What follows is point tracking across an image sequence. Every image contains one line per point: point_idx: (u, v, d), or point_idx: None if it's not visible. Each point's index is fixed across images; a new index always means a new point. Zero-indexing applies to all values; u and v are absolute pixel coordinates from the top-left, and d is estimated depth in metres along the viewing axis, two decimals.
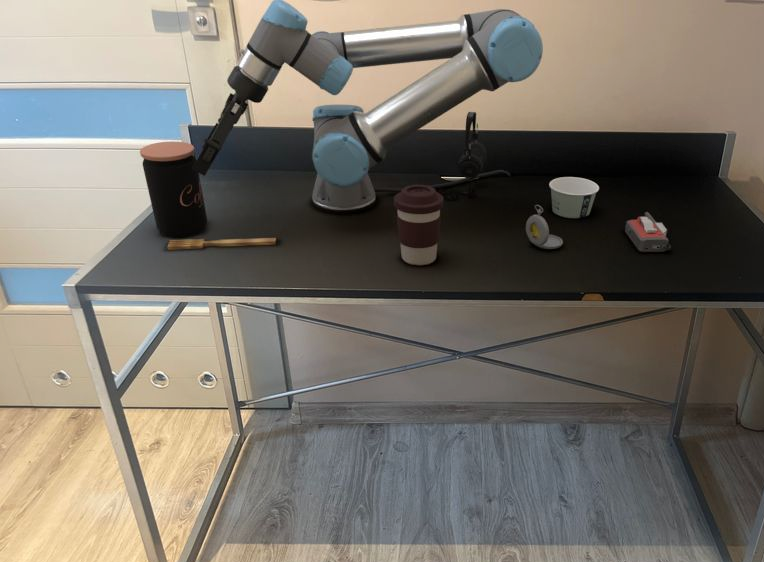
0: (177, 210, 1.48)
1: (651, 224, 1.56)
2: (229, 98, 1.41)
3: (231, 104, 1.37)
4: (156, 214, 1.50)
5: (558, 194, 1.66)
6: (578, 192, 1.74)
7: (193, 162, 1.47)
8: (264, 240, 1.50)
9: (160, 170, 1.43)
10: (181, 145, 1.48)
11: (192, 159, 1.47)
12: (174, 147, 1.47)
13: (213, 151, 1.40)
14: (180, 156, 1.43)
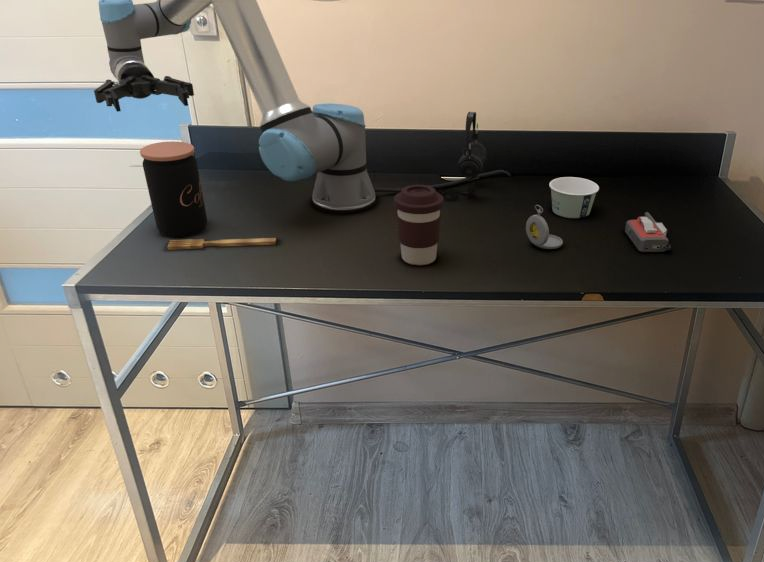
0: (177, 210, 1.48)
1: (651, 224, 1.56)
2: None
3: None
4: (156, 214, 1.50)
5: (558, 194, 1.66)
6: (578, 192, 1.74)
7: (193, 162, 1.47)
8: (264, 240, 1.50)
9: (160, 170, 1.43)
10: (181, 145, 1.48)
11: (192, 159, 1.47)
12: (174, 147, 1.47)
13: (105, 95, 1.49)
14: (180, 156, 1.43)
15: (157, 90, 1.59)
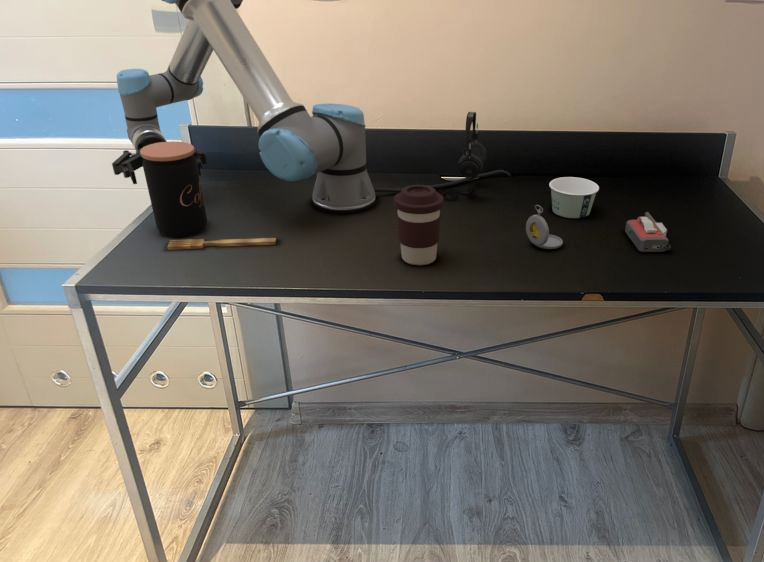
0: (177, 210, 1.48)
1: (651, 224, 1.56)
2: None
3: None
4: (156, 214, 1.50)
5: (558, 194, 1.66)
6: (578, 192, 1.74)
7: (193, 162, 1.47)
8: (264, 240, 1.50)
9: (160, 170, 1.43)
10: (181, 145, 1.48)
11: (192, 159, 1.47)
12: (174, 147, 1.47)
13: (122, 168, 1.56)
14: (180, 156, 1.43)
15: None
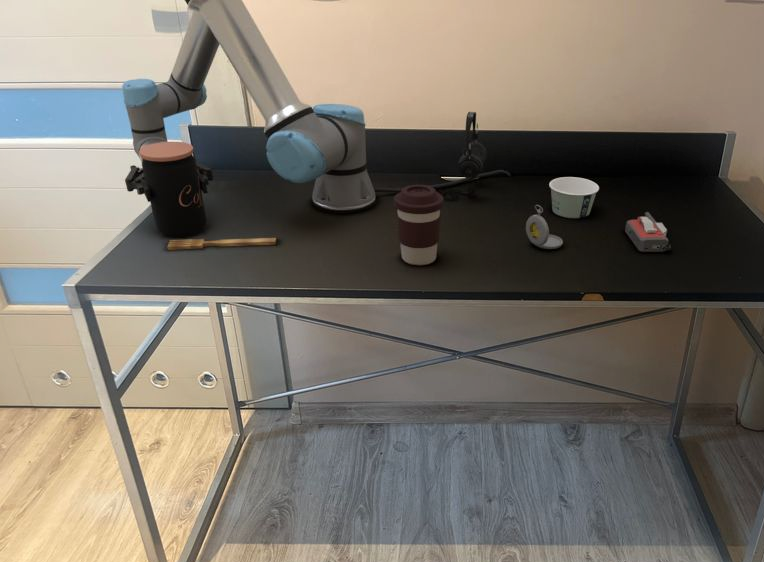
0: (176, 211, 1.48)
1: (651, 224, 1.56)
2: None
3: None
4: (155, 214, 1.50)
5: (558, 194, 1.66)
6: (578, 192, 1.74)
7: (192, 162, 1.47)
8: (264, 240, 1.50)
9: (159, 170, 1.43)
10: (180, 145, 1.48)
11: (191, 159, 1.47)
12: (173, 148, 1.46)
13: (135, 185, 1.49)
14: (179, 156, 1.43)
15: None
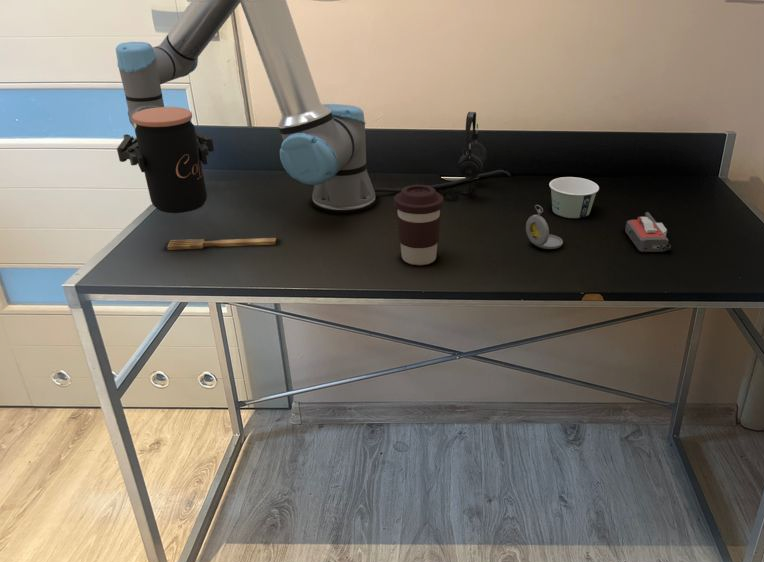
0: (172, 183, 1.34)
1: (651, 224, 1.56)
2: None
3: None
4: (150, 187, 1.36)
5: (558, 194, 1.66)
6: (578, 192, 1.74)
7: (190, 129, 1.33)
8: (264, 240, 1.50)
9: (154, 137, 1.29)
10: (178, 110, 1.34)
11: (189, 126, 1.33)
12: (169, 113, 1.33)
13: (128, 154, 1.35)
14: (175, 121, 1.29)
15: None
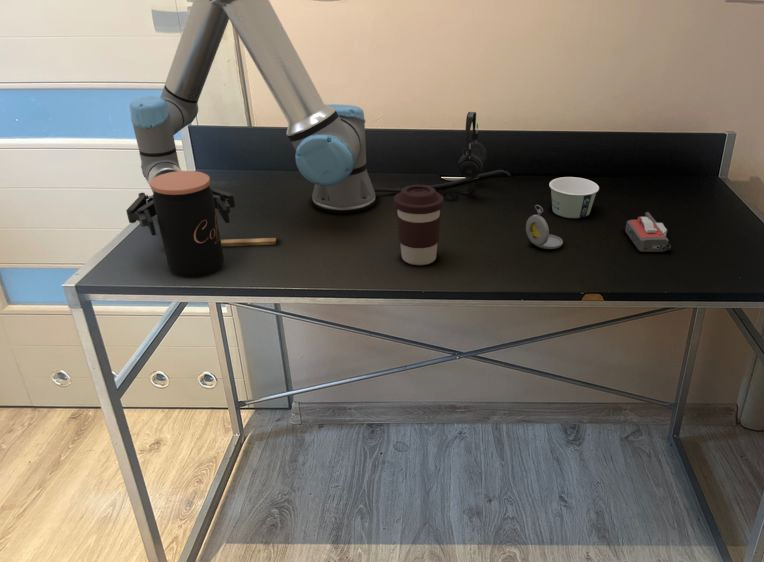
0: (190, 248, 1.33)
1: (651, 224, 1.56)
2: None
3: None
4: (167, 251, 1.35)
5: (558, 194, 1.66)
6: (578, 192, 1.74)
7: (209, 195, 1.32)
8: (264, 240, 1.50)
9: (172, 204, 1.28)
10: (195, 175, 1.33)
11: (208, 191, 1.32)
12: (187, 178, 1.32)
13: (138, 216, 1.34)
14: (194, 188, 1.28)
15: None
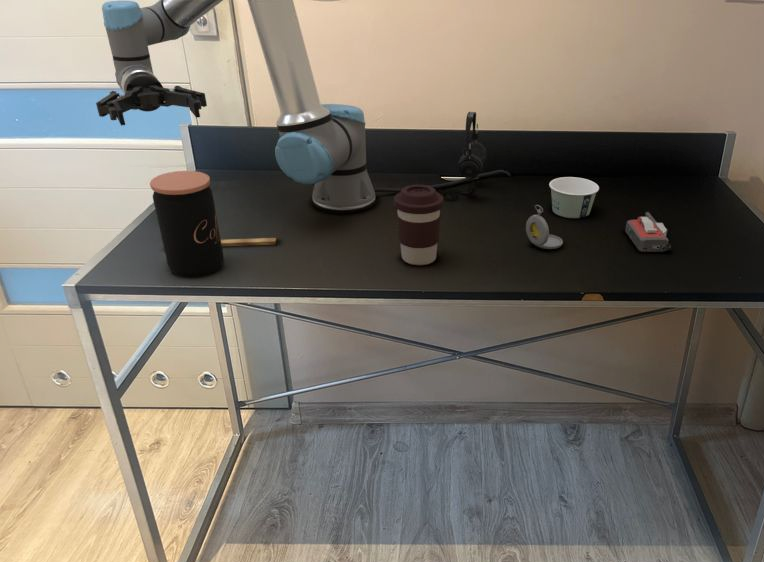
0: (190, 248, 1.33)
1: (651, 224, 1.56)
2: None
3: None
4: (167, 251, 1.35)
5: (558, 194, 1.66)
6: (578, 192, 1.74)
7: (209, 195, 1.32)
8: (264, 240, 1.50)
9: (172, 204, 1.28)
10: (195, 175, 1.33)
11: (208, 191, 1.32)
12: (187, 178, 1.32)
13: (108, 108, 1.34)
14: (194, 189, 1.28)
15: (166, 101, 1.43)
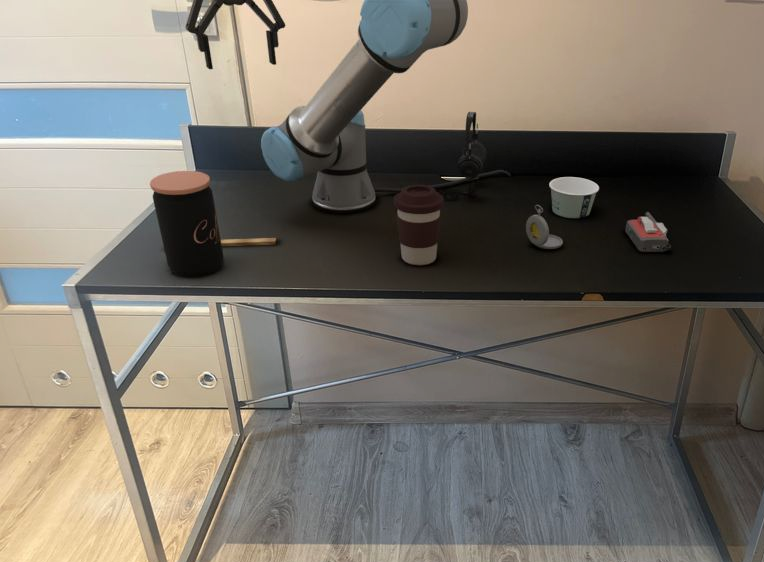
0: (190, 248, 1.33)
1: (651, 224, 1.56)
2: None
3: None
4: (167, 251, 1.35)
5: (558, 194, 1.66)
6: (578, 192, 1.74)
7: (209, 195, 1.32)
8: (264, 240, 1.50)
9: (172, 204, 1.28)
10: (195, 175, 1.33)
11: (208, 191, 1.32)
12: (188, 178, 1.32)
13: (197, 38, 1.45)
14: (194, 189, 1.28)
15: (247, 4, 1.47)
